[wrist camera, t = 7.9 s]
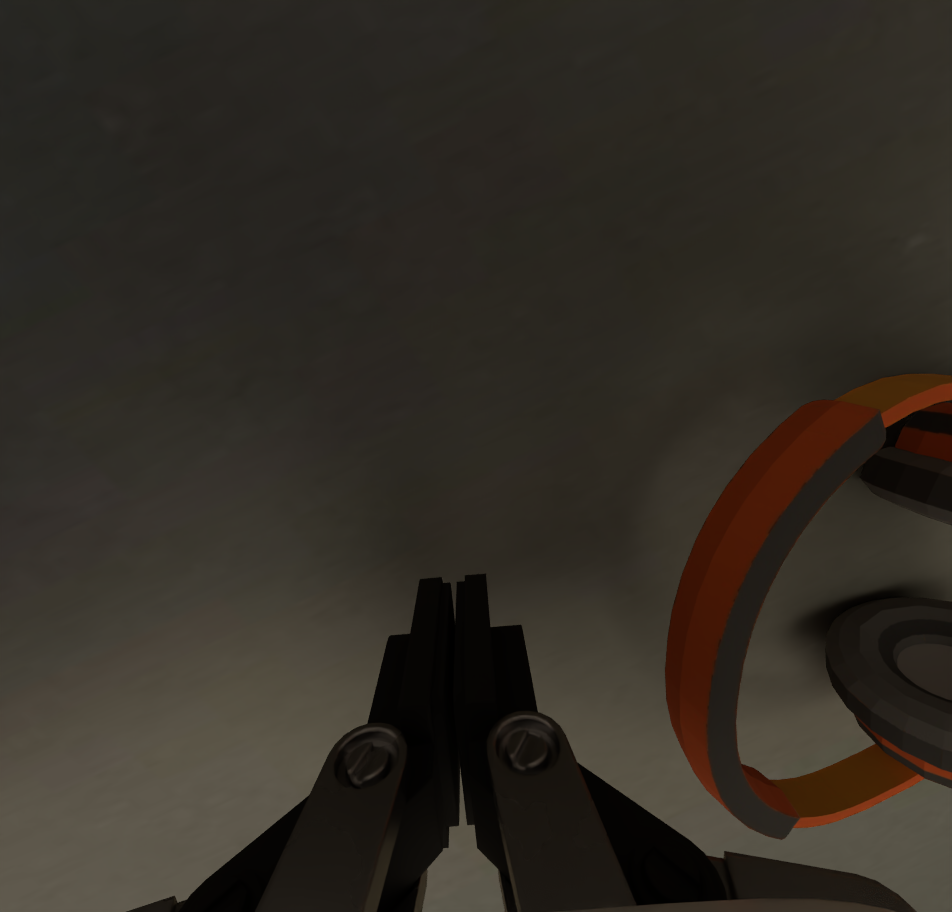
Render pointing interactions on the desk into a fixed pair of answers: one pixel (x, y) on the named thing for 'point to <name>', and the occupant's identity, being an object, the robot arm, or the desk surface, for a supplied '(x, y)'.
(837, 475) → the headphones
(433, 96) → the desk surface
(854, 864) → the desk surface
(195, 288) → the desk surface
